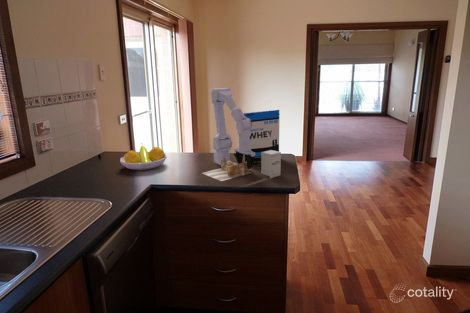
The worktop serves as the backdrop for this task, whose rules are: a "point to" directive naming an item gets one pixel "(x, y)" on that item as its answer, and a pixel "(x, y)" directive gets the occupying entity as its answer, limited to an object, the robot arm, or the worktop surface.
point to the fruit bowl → (144, 158)
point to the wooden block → (236, 168)
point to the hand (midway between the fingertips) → (244, 167)
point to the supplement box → (271, 163)
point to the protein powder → (263, 133)
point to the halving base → (225, 171)
